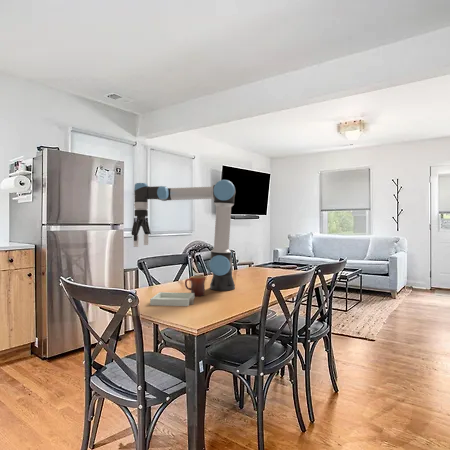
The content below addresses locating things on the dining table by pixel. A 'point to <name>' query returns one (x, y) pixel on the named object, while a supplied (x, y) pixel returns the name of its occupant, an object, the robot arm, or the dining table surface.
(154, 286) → the dining table surface
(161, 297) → the grey-green tray
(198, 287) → the mug
